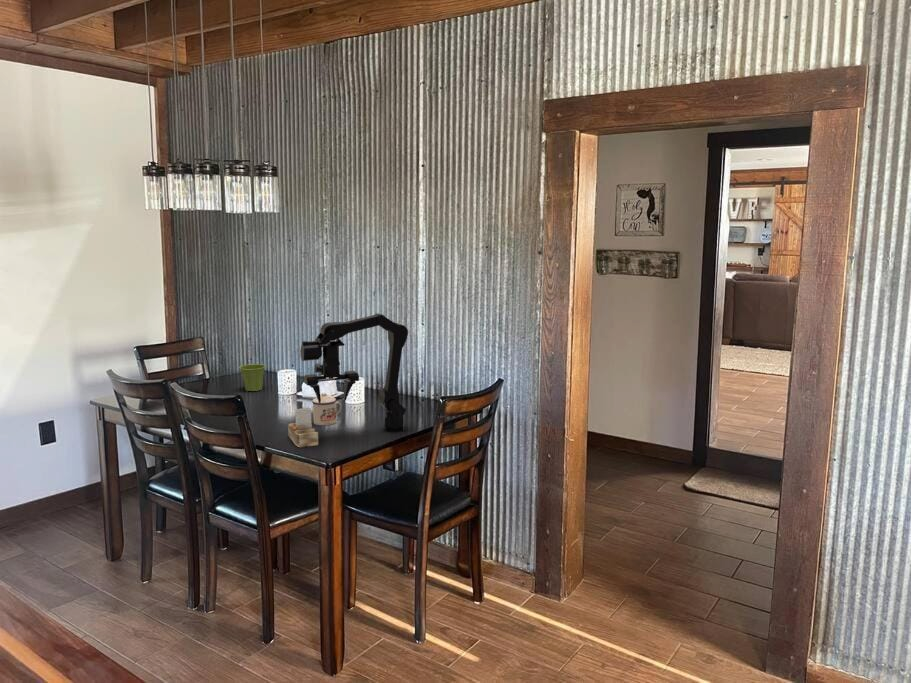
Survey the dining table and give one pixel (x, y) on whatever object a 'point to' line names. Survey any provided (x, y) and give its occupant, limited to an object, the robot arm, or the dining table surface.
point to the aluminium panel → (303, 419)
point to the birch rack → (302, 436)
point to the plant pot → (253, 376)
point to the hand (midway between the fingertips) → (332, 401)
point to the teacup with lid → (325, 410)
